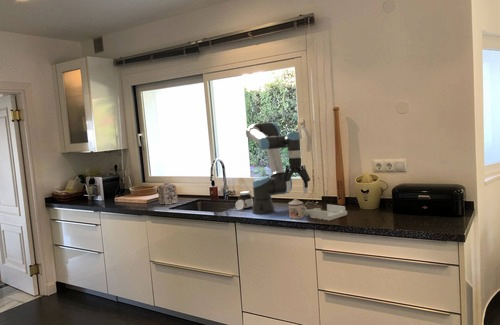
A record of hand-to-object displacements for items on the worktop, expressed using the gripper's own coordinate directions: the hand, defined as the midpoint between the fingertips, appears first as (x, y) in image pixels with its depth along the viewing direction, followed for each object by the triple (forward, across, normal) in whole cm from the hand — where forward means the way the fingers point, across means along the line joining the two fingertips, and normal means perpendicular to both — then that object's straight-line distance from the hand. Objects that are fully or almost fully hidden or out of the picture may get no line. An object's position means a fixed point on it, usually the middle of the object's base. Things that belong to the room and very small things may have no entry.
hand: (297, 192), depth 233 cm
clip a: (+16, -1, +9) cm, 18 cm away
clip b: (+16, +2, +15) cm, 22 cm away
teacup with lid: (+16, 0, 0) cm, 16 cm away
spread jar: (+15, -53, +1) cm, 55 cm away
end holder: (+16, +12, +13) cm, 23 cm away
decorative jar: (+15, -128, -20) cm, 131 cm away
